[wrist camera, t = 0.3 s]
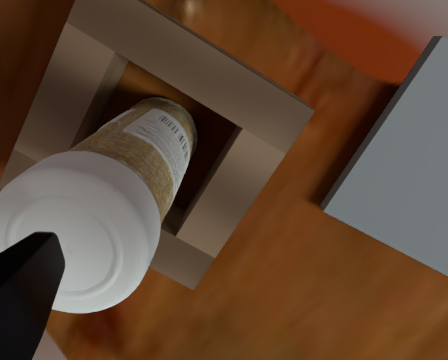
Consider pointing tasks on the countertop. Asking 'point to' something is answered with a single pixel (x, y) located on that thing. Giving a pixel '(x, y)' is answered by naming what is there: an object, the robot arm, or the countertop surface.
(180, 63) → the bottle holder
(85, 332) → the countertop surface
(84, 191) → the sprinkles bottle
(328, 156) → the countertop surface
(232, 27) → the countertop surface
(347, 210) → the slate mat
